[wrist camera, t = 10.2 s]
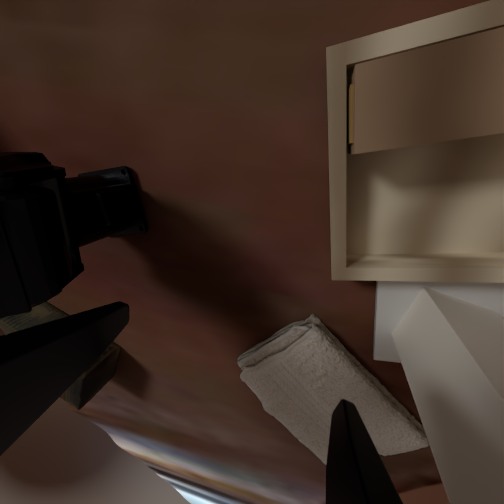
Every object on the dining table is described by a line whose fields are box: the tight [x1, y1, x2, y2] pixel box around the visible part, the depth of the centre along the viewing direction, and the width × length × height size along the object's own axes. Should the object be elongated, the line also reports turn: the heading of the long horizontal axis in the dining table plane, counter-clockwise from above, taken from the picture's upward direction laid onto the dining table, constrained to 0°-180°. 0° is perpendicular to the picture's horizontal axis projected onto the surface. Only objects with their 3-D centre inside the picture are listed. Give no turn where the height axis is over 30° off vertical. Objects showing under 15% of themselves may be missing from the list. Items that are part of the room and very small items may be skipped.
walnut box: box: [347, 27, 504, 154], centre depth 13 cm, size 7×4×4 cm, turn 98°
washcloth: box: [237, 314, 429, 465], centre depth 25 cm, size 12×18×3 cm, turn 47°
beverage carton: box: [0, 302, 121, 410], centre depth 34 cm, size 8×19×7 cm, turn 66°
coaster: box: [373, 281, 504, 363], centre depth 19 cm, size 9×9×1 cm
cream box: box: [392, 287, 504, 504], centre depth 13 cm, size 5×5×12 cm
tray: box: [326, 0, 504, 283], centre depth 14 cm, size 14×14×3 cm
